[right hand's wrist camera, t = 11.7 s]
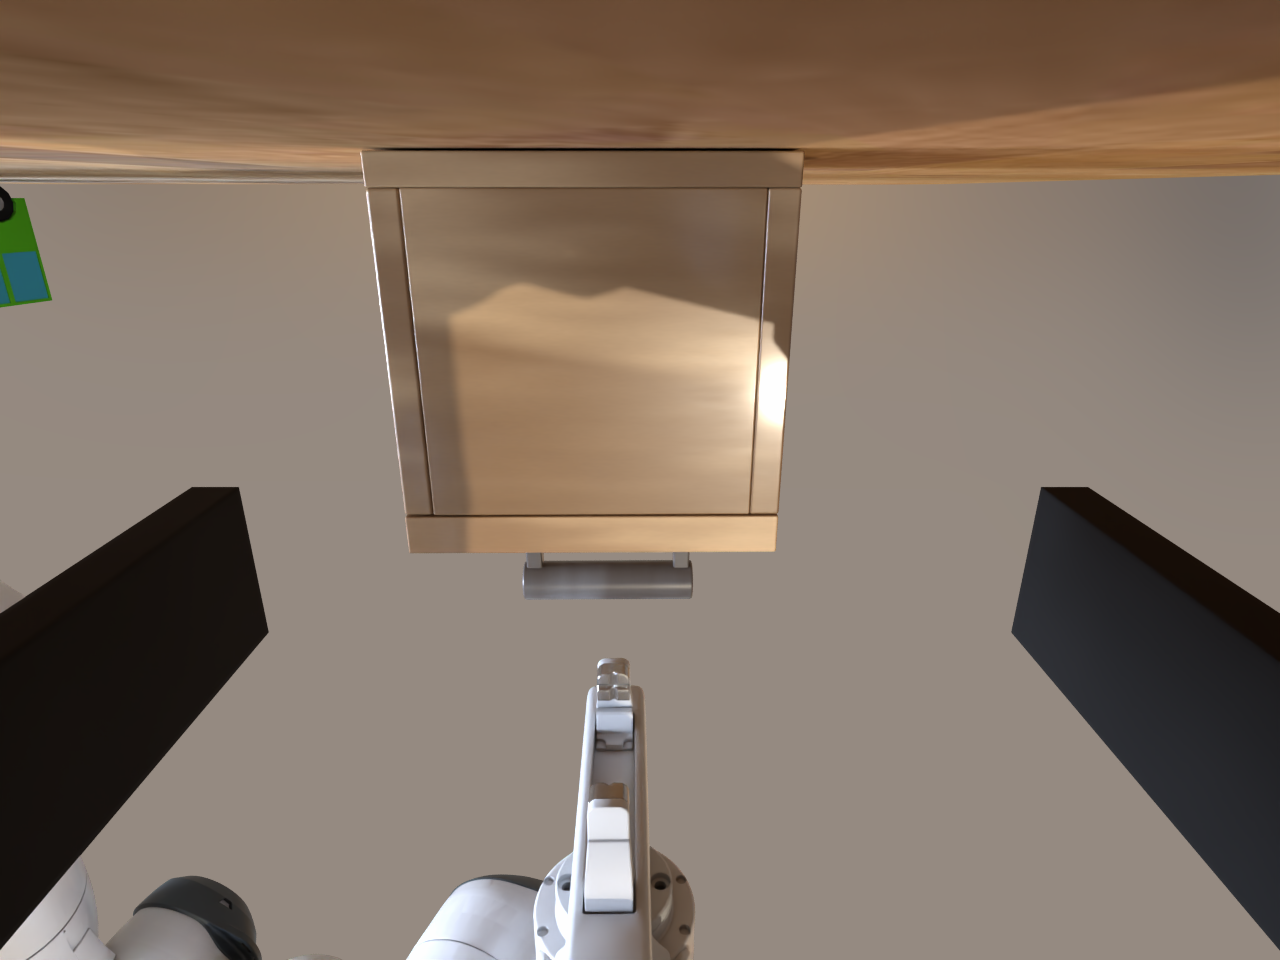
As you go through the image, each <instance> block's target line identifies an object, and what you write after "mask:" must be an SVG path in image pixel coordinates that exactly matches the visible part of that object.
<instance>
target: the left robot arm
mask: <svg viewBox="0 0 1280 960" xmlns="http://www.w3.org/2000/svg"><path fill="white" fill-rule="evenodd" d="M24 597H26V596H25V595H23V594H21V593H19V592H17V591H16V590H14V589H13V588H11V587H10V586H8V585H7V584H5V583H4V582H2V581H1V580H0V613H1V612H3V611H5V610H6V609H8V608H9V607H11V606H12V605H14V604H15V603H17V602H18V601H20V600H21V599H23V598H24ZM694 927H695V904H694V898H693V894H692V891H691V888H690V886H689V883H688V881H687V880H686V878H685V876H684V875H683V873H682V872H681V870H680V869H679V868H678V867H677V866H676V865H675V864H674V863H673V862H672V861H671V860H670V859H668V858H667V857H666V856H664V855H663V854H661V853H660V852H658V851H656V850H655V849H654V848H652V847H651V846H649V816H648V780H647V744H646V708H645V696H644V692H643V690H642V688H640V687H639V686H633V685H630V664H629V661H628V660H626V659H624V658H604V659H602V660H600V661H599V663H598V671H597V686H595V687H592V688H591V689H590V690H589V693H588V697H587V705H586V716H585V728H584V739H583V750H582V761H581V773H580V784H579V795H578V807H577V818H576V829H575V841H574V851H573V852H572V853H571V854H570V855H568V856H567V857H565V858H564V859H563V860H561V861H560V862H559V863H558V864H557V865H556V866H555V867H554V868H553V869H552V870H551V871H550V872H549V874H548V875H547V876H546V878H545V879H544V881H542V880H538V879H534V878H530V877H525V876H517V875H488V876H483V877H478V878H474V879H472V880H469V881H466V882H464V883H462V884H461V885H459V886H458V887H457V888H455V889H454V891H453V892H452V893H451V895H450V897H449V898H448V899H447V901H446V902H445V903H444V905H443V906H442V907H441V909H440V910H439V912H438V913H437V915H436V916H435V918H434V919H433V921H432V922H431V924H430V925H429V927H428V928H427V929H426V931H425V932H424V934H423V935H422V937H421V938H420V940H419V941H418V943H417V944H416V945H415V947H414V948H413V950H412V952H411V953H410V955H409V956H408V958H407V959H406V960H693V955H694ZM0 960H262V957H261V953H260V951H259V949H258V947H257V945H256V930H255V926H254V922H253V919H252V916H251V913H250V911H249V909H248V907H247V905H246V904H245V902H244V901H243V900H242V899H241V898H240V897H239V896H238V895H237V894H236V893H234V892H233V891H232V890H230V889H229V888H227V887H225V886H224V885H222V884H220V883H218V882H216V881H213V880H210V879H208V878H204V877H199V876H185V877H179V878H173V879H170V880H168V881H167V882H165V883H164V884H163V885H161V886H160V887H159V888H157V889H156V890H155V891H154V892H152V893H151V894H150V895H149V896H148V897H147V898H146V899H145V900H144V901H143V902H142V903H141V904H139V906H137V907H136V909H135V910H134V913H133V917H132V918H131V919H130V920H129V921H128V922H127V923H126V924H125V925H124V926H123V927H122V928H121V929H120V930H119V931H118V932H117V933H116V934H115V935H114V936H113V937H112V938H111V940H110V941H109V942H108V943H107V944H106V945H104V944H103V943H102V942H101V941H100V940H99V939H98V916H97V907H96V902H95V896H94V891H93V888H92V884H91V881H90V878H89V875H88V873H87V870H86V868H85V865H84V862H83V860H82V858H81V856H79V858H78V859H77V860H76V861H75V862H74V863H73V865H72V866H71V867H70V868H69V869H68V871H67V872H66V873H65V874H64V875H63V877H62V878H61V879H60V880H59V881H58V882H57V884H56V885H55V886H54V887H53V888H52V890H51V891H50V892H49V893H48V894H47V895H46V897H45V898H44V899H43V900H42V901H41V903H40V904H39V905H38V906H37V907H36V909H35V910H34V911H33V912H32V913H31V914H30V916H29V917H28V918H27V919H26V920H25V922H24V923H23V924H22V925H21V926H20V927H19V929H18V930H17V931H16V932H15V933H14V935H13V936H12V937H11V938H10V939H9V941H8V942H7V943H6V944H5V945H4V946H3V948H2V949H1V950H0ZM288 960H341V959H339V958H337V957H334V956H330V955H322V954H310V955H303V956H298V957H295V958H291V959H288Z"/></svg>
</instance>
